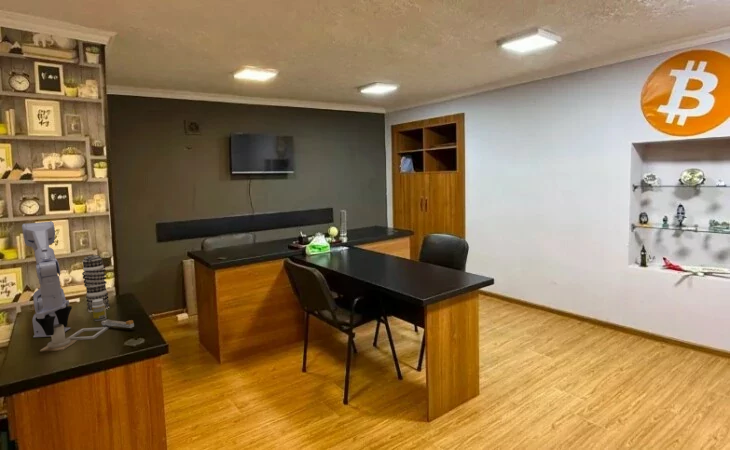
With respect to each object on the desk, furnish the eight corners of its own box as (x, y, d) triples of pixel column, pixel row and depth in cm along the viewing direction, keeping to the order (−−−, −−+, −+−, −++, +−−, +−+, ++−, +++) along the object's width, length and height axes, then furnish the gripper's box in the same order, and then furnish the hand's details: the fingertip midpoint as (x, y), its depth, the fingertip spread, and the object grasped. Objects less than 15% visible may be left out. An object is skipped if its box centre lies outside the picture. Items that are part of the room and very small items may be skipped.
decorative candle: (115, 307, 198) (108, 254, 194) (95, 313, 189) (88, 258, 186) (102, 305, 201) (95, 253, 198) (82, 311, 193) (75, 257, 190)
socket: (66, 340, 159) (66, 338, 159) (82, 330, 169) (81, 328, 169) (93, 338, 160) (93, 336, 160) (108, 329, 170) (107, 327, 170)
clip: (128, 328, 165) (128, 322, 164) (99, 324, 170) (99, 319, 170) (135, 325, 167) (134, 320, 167) (106, 322, 173) (105, 316, 173)
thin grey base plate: (100, 329, 170) (100, 325, 170) (104, 326, 173) (104, 322, 172) (108, 328, 170) (107, 324, 170) (111, 326, 173) (111, 322, 172)
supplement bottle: (97, 317, 184) (95, 298, 183) (108, 316, 185) (106, 298, 183) (91, 321, 179) (88, 302, 178) (103, 320, 180) (100, 301, 179)
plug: (43, 349, 150) (40, 329, 149) (55, 341, 157) (52, 323, 156) (64, 347, 151) (61, 328, 150) (74, 340, 158) (72, 321, 157)
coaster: (40, 351, 150) (39, 350, 150) (54, 342, 158) (54, 341, 158) (63, 350, 151) (63, 348, 151) (77, 340, 159) (77, 339, 158)
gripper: (49, 300, 145) (55, 338, 147) (75, 288, 159) (80, 322, 161) (28, 301, 144) (33, 339, 146) (56, 289, 159) (61, 323, 161)
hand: (56, 330), depth 154 cm, fingers open, 7 cm apart
